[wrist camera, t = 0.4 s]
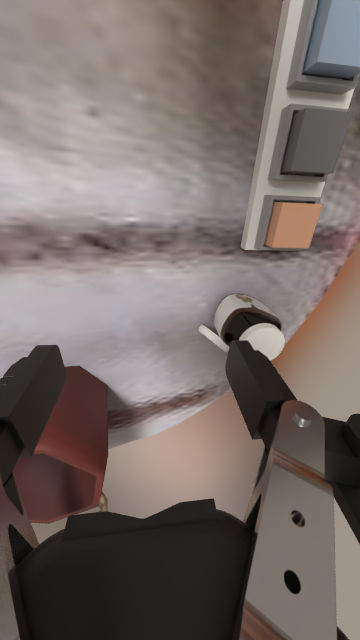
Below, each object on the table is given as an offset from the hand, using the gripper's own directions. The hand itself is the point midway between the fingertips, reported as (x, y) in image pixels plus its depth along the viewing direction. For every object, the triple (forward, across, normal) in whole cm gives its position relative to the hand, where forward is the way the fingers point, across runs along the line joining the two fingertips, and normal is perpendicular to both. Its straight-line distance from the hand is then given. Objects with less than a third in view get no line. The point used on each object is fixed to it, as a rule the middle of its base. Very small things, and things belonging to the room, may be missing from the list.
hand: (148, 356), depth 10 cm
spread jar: (+28, -15, +14) cm, 35 cm away
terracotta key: (+24, -20, -4) cm, 31 cm away
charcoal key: (+24, -20, -13) cm, 34 cm away
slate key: (+24, -20, -22) cm, 38 cm away
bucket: (+28, +19, +33) cm, 47 cm away
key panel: (+28, -20, -12) cm, 36 cm away
